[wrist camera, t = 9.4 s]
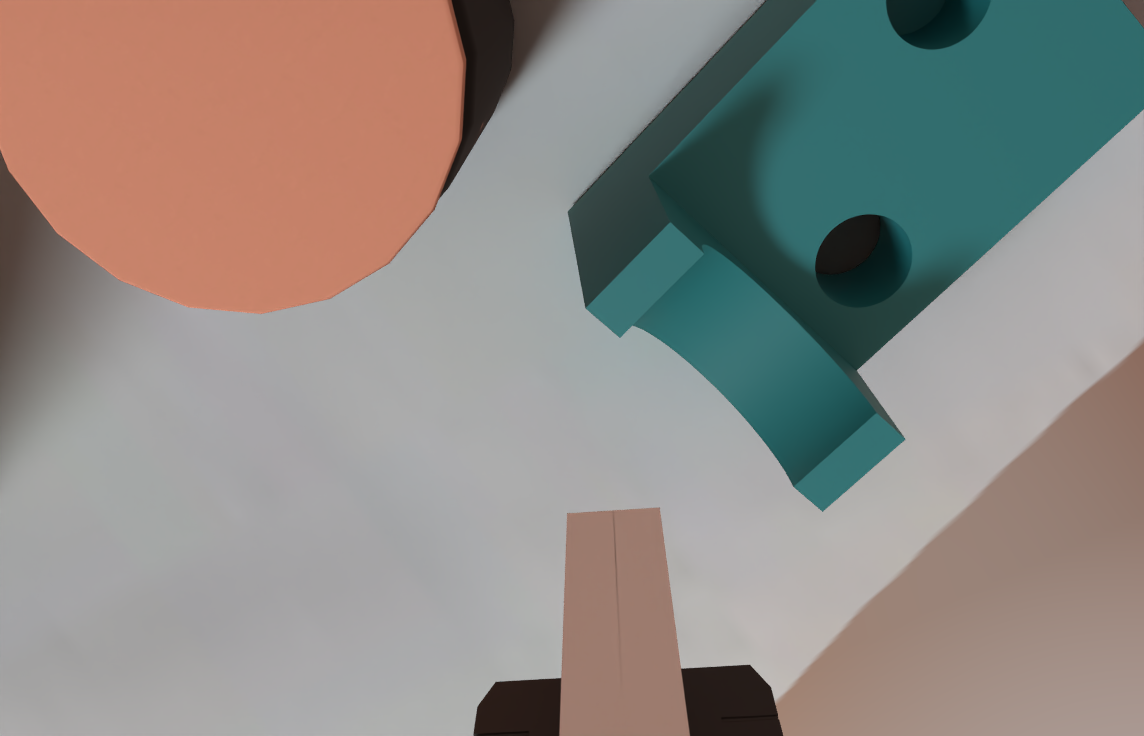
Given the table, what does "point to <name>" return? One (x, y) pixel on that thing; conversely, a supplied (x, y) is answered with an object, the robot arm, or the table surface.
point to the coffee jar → (245, 133)
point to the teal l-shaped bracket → (844, 194)
